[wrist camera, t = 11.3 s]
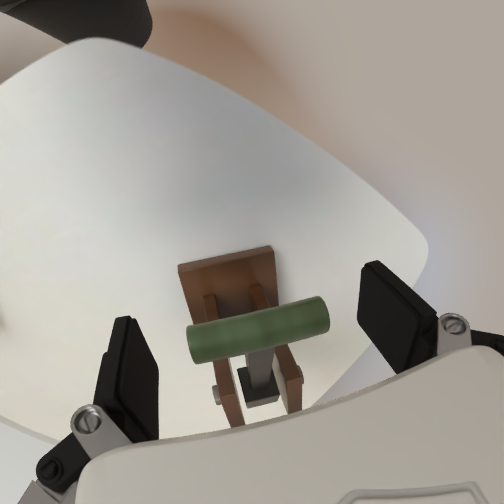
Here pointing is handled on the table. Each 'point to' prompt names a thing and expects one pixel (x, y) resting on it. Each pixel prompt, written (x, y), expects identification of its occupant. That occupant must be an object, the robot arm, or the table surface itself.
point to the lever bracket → (237, 303)
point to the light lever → (258, 342)
